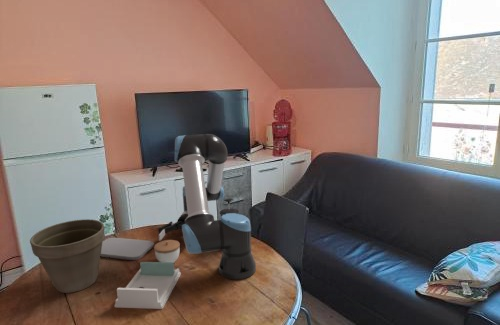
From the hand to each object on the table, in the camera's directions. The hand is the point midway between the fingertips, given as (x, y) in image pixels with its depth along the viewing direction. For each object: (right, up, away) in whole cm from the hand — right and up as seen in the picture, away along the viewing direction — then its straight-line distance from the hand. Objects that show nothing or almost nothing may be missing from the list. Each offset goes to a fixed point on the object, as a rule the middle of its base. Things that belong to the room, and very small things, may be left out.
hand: (173, 238), depth 156 cm
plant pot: (-33, -13, -23) cm, 42 cm away
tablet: (-25, -7, +4) cm, 26 cm away
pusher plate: (-2, -10, -21) cm, 23 cm away
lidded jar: (-1, -9, -8) cm, 12 cm away
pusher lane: (-2, -13, -28) cm, 31 cm away
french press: (+25, -5, +6) cm, 26 cm away
